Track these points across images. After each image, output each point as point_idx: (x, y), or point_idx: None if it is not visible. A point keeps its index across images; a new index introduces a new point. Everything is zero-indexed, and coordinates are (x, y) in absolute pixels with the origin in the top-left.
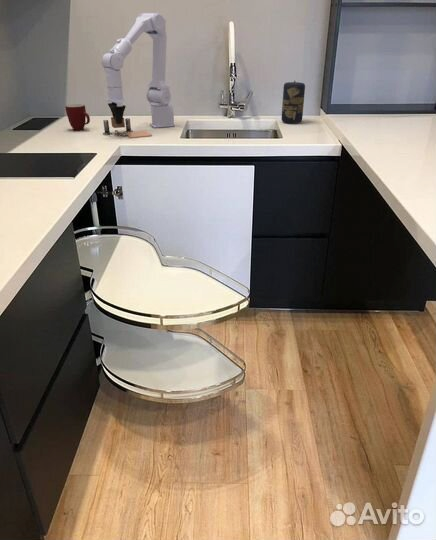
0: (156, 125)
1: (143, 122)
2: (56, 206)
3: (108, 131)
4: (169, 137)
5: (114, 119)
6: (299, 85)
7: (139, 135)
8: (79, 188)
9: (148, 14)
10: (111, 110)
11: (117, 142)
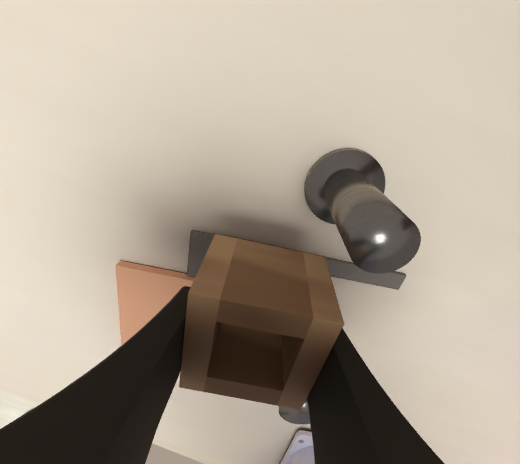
0: (309, 449)
1: (464, 448)
2: None
3: (325, 200)
4: None
5: (188, 304)
6: None
7: (135, 321)
8: None
9: None
10: (371, 439)
11: (7, 135)
